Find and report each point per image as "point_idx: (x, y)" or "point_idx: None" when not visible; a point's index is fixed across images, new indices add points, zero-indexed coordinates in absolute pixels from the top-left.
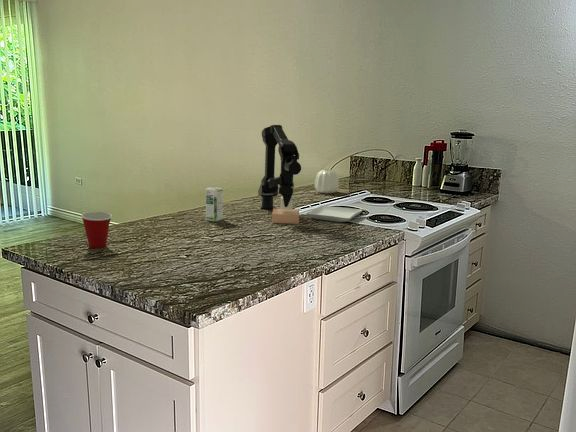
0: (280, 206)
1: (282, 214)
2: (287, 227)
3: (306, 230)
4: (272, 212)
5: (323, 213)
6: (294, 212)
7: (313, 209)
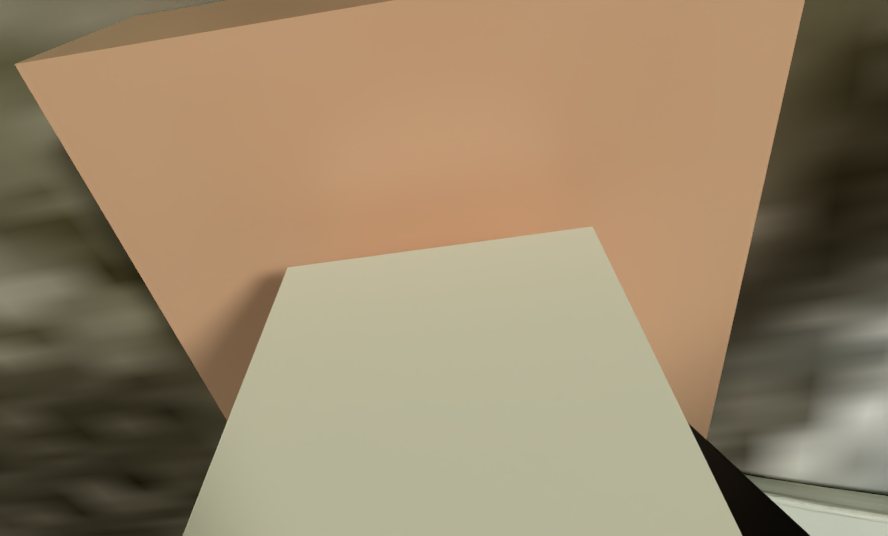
0: (265, 327)
1: (156, 294)
2: (12, 311)
3: (38, 480)
4: (215, 32)
5: (835, 524)
6: None
7: (857, 517)
